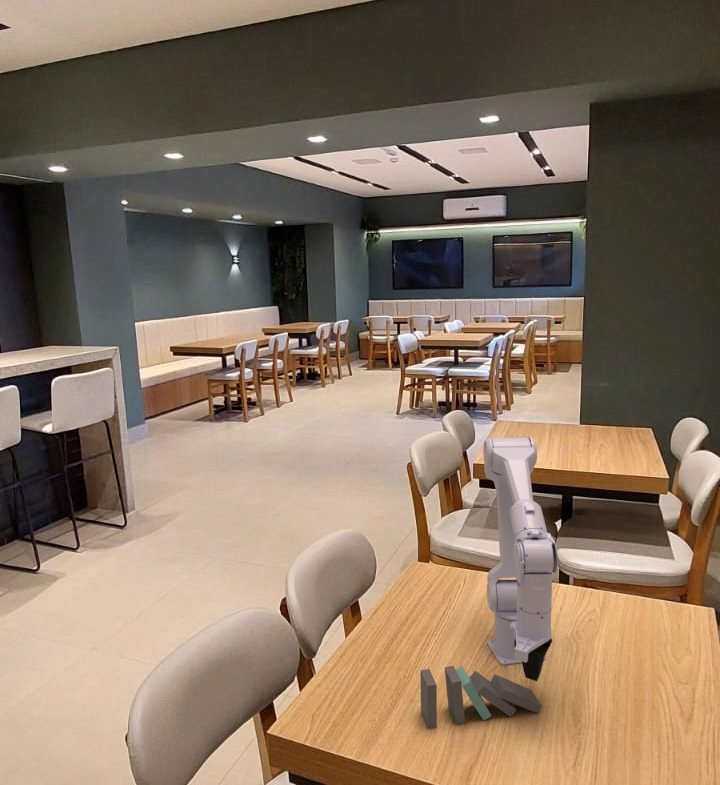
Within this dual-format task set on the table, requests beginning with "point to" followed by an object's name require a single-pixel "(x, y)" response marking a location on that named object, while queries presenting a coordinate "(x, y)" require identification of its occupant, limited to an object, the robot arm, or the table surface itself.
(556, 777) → the table surface
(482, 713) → the teal domino
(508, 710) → the domino
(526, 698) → the domino
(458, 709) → the domino
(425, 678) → the domino
